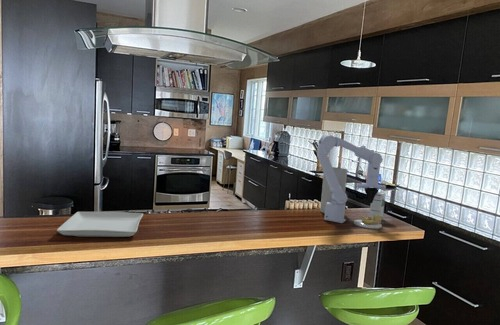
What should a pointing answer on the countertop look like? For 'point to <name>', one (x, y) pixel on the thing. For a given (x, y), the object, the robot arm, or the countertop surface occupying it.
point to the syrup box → (377, 205)
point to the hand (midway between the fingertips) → (369, 202)
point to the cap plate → (367, 225)
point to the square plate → (101, 224)
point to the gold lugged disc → (371, 221)
